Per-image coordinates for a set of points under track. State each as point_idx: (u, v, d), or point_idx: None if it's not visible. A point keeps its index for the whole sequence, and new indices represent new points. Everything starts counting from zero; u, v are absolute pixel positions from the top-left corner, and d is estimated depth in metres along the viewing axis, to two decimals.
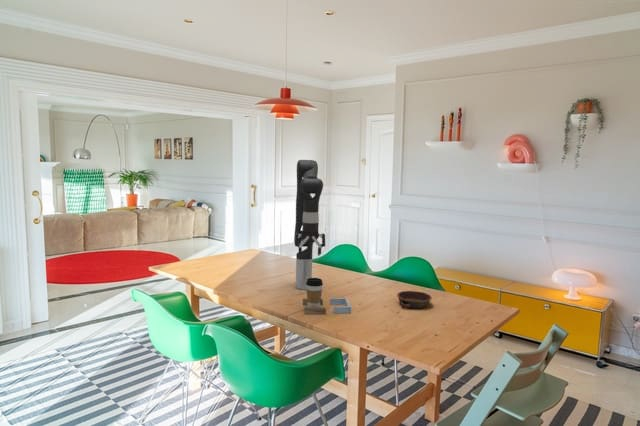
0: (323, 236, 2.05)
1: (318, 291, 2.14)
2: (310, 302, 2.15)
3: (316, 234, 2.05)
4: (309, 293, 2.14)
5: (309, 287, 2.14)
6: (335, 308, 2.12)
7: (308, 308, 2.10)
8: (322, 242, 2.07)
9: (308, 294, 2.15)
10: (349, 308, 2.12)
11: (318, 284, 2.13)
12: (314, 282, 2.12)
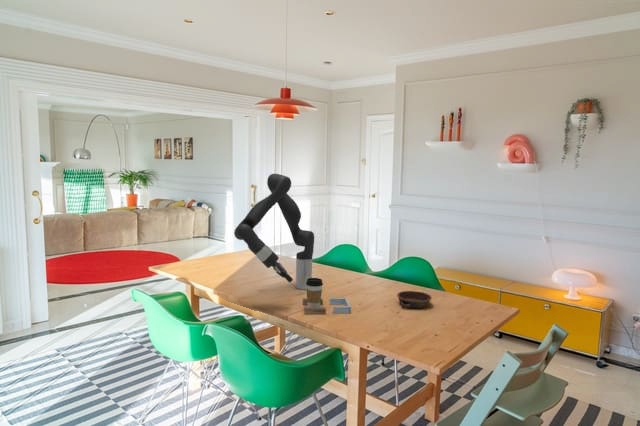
0: None
1: (318, 291, 2.14)
2: (310, 302, 2.15)
3: (273, 267, 2.10)
4: (309, 293, 2.14)
5: (309, 287, 2.14)
6: (335, 308, 2.12)
7: (308, 308, 2.10)
8: None
9: (308, 294, 2.15)
10: (349, 308, 2.12)
11: (318, 284, 2.13)
12: (314, 282, 2.12)
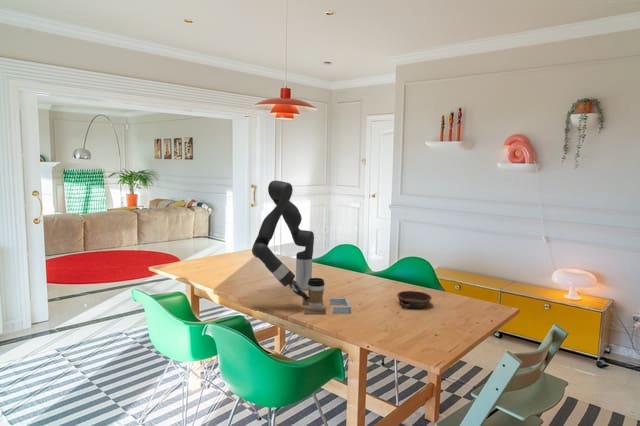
0: None
1: (320, 291, 2.14)
2: (312, 302, 2.15)
3: None
4: (311, 293, 2.14)
5: (311, 287, 2.14)
6: (335, 308, 2.12)
7: (308, 308, 2.10)
8: None
9: (310, 294, 2.15)
10: (349, 308, 2.12)
11: (320, 284, 2.13)
12: (316, 282, 2.12)
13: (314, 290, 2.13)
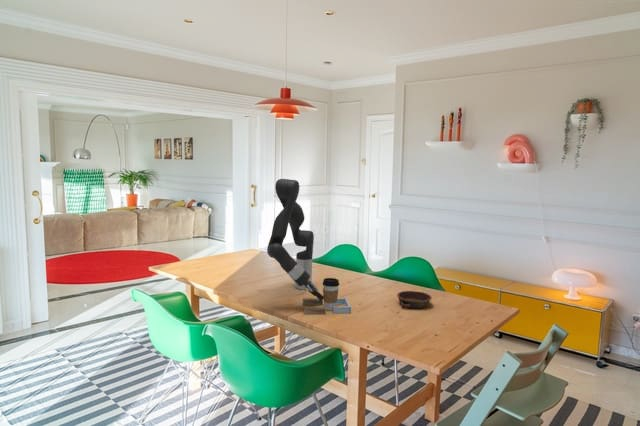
0: None
1: (335, 291, 2.15)
2: (327, 302, 2.15)
3: (305, 286, 2.13)
4: (326, 293, 2.15)
5: (326, 287, 2.14)
6: (335, 308, 2.12)
7: (308, 308, 2.10)
8: (315, 291, 2.14)
9: (325, 294, 2.15)
10: (349, 308, 2.12)
11: (335, 284, 2.14)
12: (331, 282, 2.13)
13: (329, 290, 2.14)
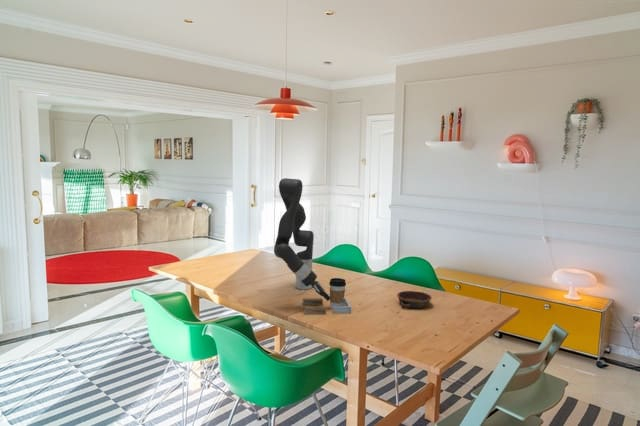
0: None
1: (342, 291, 2.15)
2: (334, 302, 2.15)
3: (312, 286, 2.13)
4: (333, 293, 2.15)
5: (333, 287, 2.14)
6: (335, 308, 2.12)
7: (308, 308, 2.10)
8: None
9: (332, 294, 2.15)
10: (349, 308, 2.12)
11: (342, 284, 2.14)
12: (339, 282, 2.13)
13: (337, 290, 2.14)
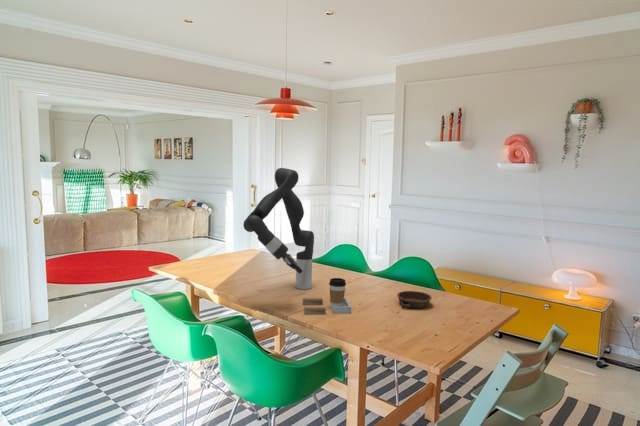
0: None
1: (342, 291, 2.15)
2: (334, 302, 2.15)
3: (283, 259, 2.10)
4: (333, 293, 2.15)
5: (333, 287, 2.14)
6: (335, 308, 2.12)
7: (308, 308, 2.10)
8: None
9: (332, 294, 2.15)
10: (349, 308, 2.12)
11: (342, 284, 2.14)
12: (339, 282, 2.13)
13: (336, 290, 2.14)
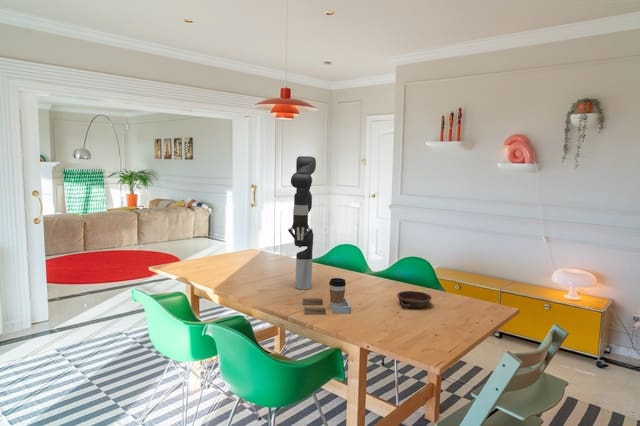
0: (310, 231, 2.22)
1: (342, 291, 2.15)
2: (334, 302, 2.15)
3: (306, 225, 2.22)
4: (333, 293, 2.15)
5: (333, 287, 2.14)
6: (335, 308, 2.12)
7: (308, 308, 2.10)
8: (305, 235, 2.24)
9: (332, 294, 2.15)
10: (349, 308, 2.12)
11: (342, 284, 2.14)
12: (339, 282, 2.13)
13: (336, 290, 2.14)
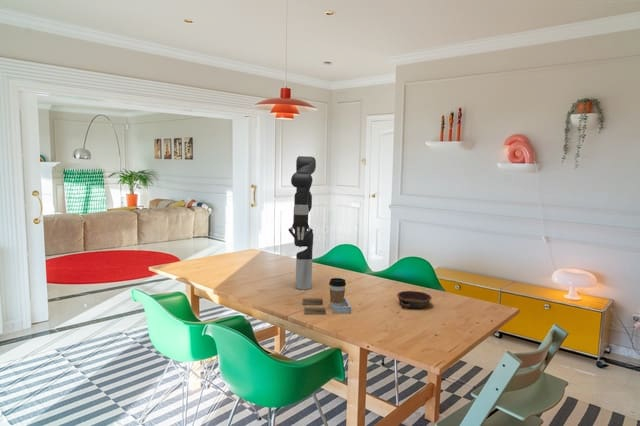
0: (310, 231, 2.22)
1: (342, 291, 2.15)
2: (334, 302, 2.15)
3: (307, 225, 2.22)
4: (333, 293, 2.15)
5: (333, 287, 2.14)
6: (335, 308, 2.12)
7: (308, 308, 2.10)
8: (305, 234, 2.24)
9: (332, 294, 2.15)
10: (349, 308, 2.12)
11: (342, 284, 2.14)
12: (339, 282, 2.13)
13: (336, 290, 2.14)
